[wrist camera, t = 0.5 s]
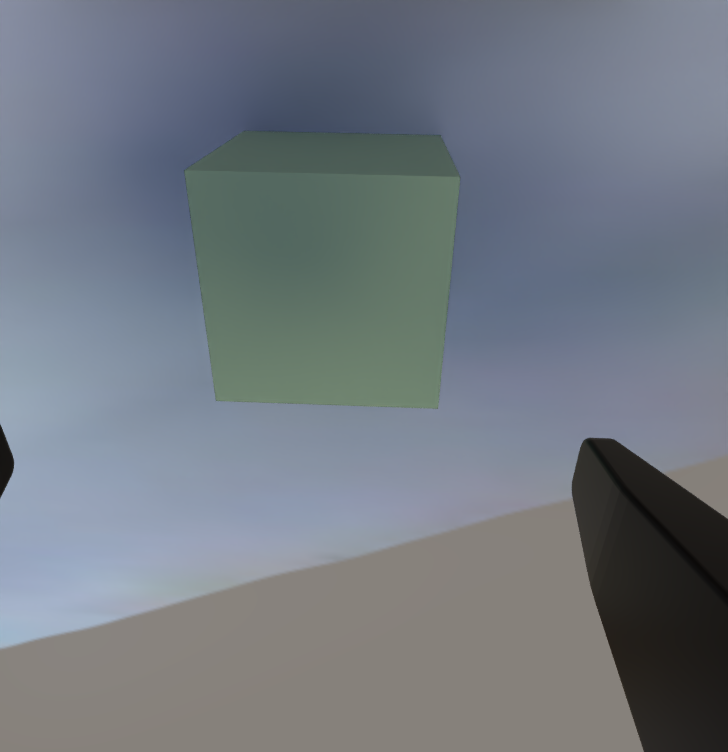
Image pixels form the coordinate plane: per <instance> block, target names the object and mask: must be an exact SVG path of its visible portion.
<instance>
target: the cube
mask: <svg viewBox="0 0 728 752" xmlns="http://www.w3.org/2000/svg"><path fill="white" fill-rule="evenodd" d="M184 173H185V180H186V188H187V195H188V202H189V209H190V216H191V224H192V231H193V238H194V245H195V253H196V260H197V267H198V274H199V282H200V289H201V296H202V303H203V310H204V318H205V325H206V332H207V339H208V347H209V354H210V361H211V368H212V375H213V383H214V390H215V397H216V401H234V402H262V403H291V404H319V405H347V406H376V407H404V408H432V409H438V403H439V393H440V382H441V372H442V362H443V351H444V341H445V331H446V320H447V310H448V299H449V289H450V279H451V268H452V258H453V248H454V237H455V227H456V216H457V206H458V196H459V185H460V175H459V173H458V171H457V169H456V167H455V165H454V163H453V161H452V158H451V156H450V154H449V152H448V150H447V148H446V146H445V144H444V142H443V140H442V137H441V135H407V134H362V133H316V132H271V131H243V132H241V133H240V134H238V135H237V136H235V137H234V138H232V139H231V140H229V141H228V142H226V143H225V144H223V145H222V146H220V147H219V148H217V149H216V150H214V151H213V152H211V153H210V154H208V155H207V156H205V157H204V158H202V159H201V160H199V161H197V162H196V163H194V164H193V165H191V166H190V167H188V168H187V169H185V170H184Z"/></svg>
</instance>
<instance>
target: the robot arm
mask: <svg viewBox="0 0 728 752" xmlns="http://www.w3.org/2000/svg"><path fill="white" fill-rule="evenodd" d="M13 469H14V459H13V455H12V453H11V450H10V448H9V445H8V442H7V440H6V437H5V435H4V432H3V429H2V427H1V425H0V498H1V496H2V494H3V492H4V490H5V488H6V486H7V484H8V482H9V480H10V478H11V476H12V473H13ZM572 496H573V502H574V507H575V511H576V517H577V522H578V527H579V532H580V537H581V542H582V547H583V552H584V557H585V562H586V567H587V572H588V576H589V581H590V586H591V589H592V593H593V596H594V599H595V602H596V606H597V609H598V612H599V615H600V618H601V621H602V624H603V627H604V630H605V633H606V637H607V640H608V643H609V646H610V649H611V652H612V655H613V658H614V661H615V664H616V667H617V670H618V673H619V676H620V679H621V682H622V686H623V689H624V692H625V695H626V698H627V701H628V704H629V707H630V710H631V713H632V716H633V719H634V722H635V726H636V729H637V732H638V735H639V737H640V741H641V744H642V747H643V750H644V752H728V519H727V518H726V517H724V516H723V515H721V514H720V513H718V512H717V511H716V510H714V509H713V508H711V507H710V506H708V505H707V504H706V503H704V502H703V501H701V500H700V499H699V498H697V497H696V496H694V495H693V494H691V493H690V492H689V491H687V490H686V489H684V488H683V487H681V486H680V485H679V484H677V483H676V482H674V481H673V480H671V479H670V478H669V477H667V476H666V475H664V474H663V473H661V472H660V471H659V470H657V469H656V468H654V467H653V466H651V465H650V464H649V463H647V462H646V461H644V460H643V459H641V458H640V457H639V456H637V455H636V454H634V453H633V452H632V451H630V450H629V449H627V448H626V447H624V446H623V445H622V444H620V443H619V442H617V441H616V440H614V439H610V438H587V439H585V440H584V441H583V443H582V444H581V447H580V451H579V455H578V459H577V463H576V467H575V472H574V476H573V480H572Z"/></svg>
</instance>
